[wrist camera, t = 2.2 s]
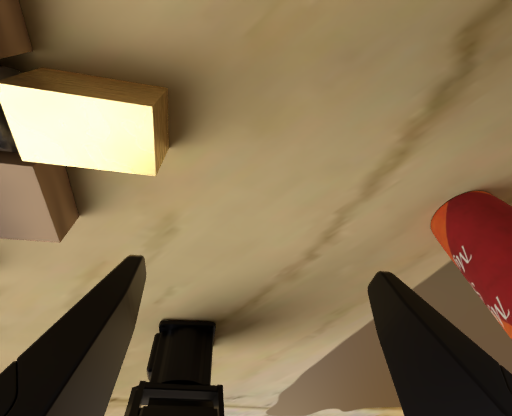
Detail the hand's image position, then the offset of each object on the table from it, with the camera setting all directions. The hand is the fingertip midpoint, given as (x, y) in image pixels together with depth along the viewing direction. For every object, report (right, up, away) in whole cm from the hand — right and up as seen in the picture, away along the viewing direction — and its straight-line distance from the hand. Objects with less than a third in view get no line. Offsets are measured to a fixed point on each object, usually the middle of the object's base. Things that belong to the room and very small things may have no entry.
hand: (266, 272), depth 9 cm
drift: (-10, +8, +8) cm, 15 cm away
